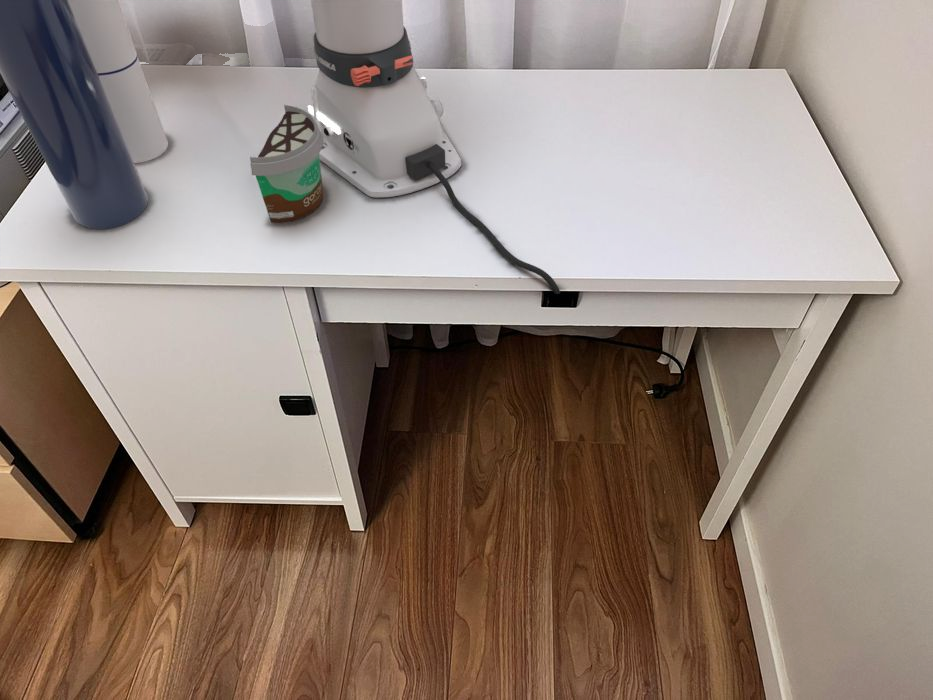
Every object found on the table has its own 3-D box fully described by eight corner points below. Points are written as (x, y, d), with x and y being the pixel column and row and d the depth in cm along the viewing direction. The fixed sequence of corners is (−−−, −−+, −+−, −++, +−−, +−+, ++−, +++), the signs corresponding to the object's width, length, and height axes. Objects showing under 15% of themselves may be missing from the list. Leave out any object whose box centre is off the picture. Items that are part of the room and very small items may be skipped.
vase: (156, 213, 91) (25, -115, 64) (82, 238, 88) (-90, -96, 61) (137, 177, 96) (8, -142, 69) (66, 198, 93) (-99, -126, 66)
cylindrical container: (117, 167, 98) (33, -29, 79) (111, 140, 102) (31, -53, 83) (171, 155, 99) (102, -39, 81) (164, 128, 104) (96, -62, 85)
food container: (315, 235, 88) (300, 165, 81) (266, 230, 89) (247, 160, 81) (344, 176, 96) (333, 107, 89) (299, 171, 97) (285, 102, 89)
